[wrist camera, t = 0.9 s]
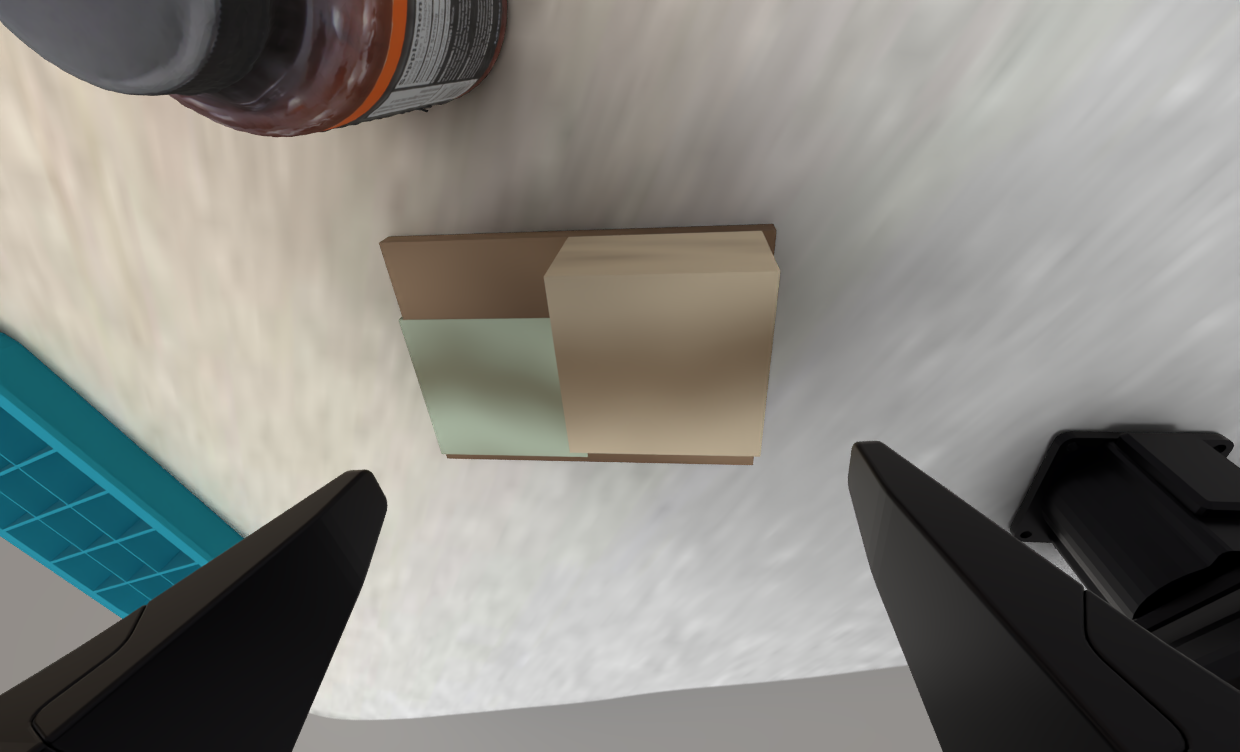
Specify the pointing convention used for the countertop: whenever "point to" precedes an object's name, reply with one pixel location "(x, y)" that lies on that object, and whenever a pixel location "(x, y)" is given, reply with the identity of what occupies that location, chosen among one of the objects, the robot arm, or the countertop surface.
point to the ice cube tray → (92, 494)
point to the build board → (498, 341)
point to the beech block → (664, 341)
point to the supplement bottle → (271, 54)
